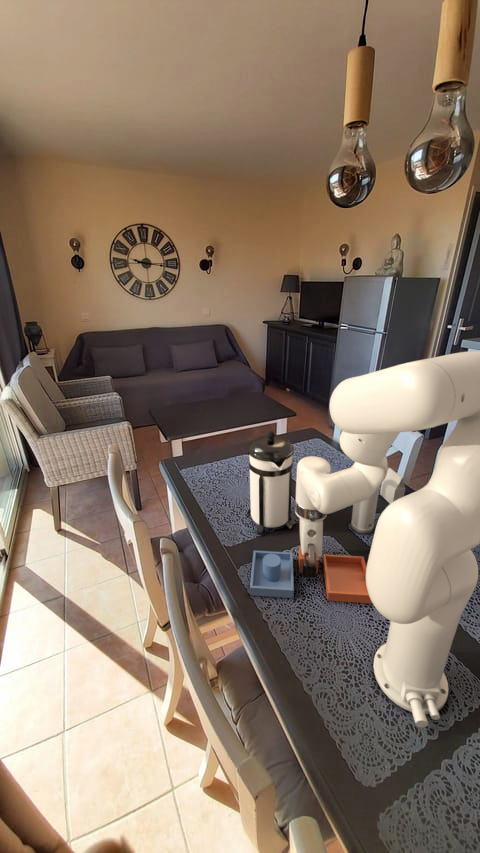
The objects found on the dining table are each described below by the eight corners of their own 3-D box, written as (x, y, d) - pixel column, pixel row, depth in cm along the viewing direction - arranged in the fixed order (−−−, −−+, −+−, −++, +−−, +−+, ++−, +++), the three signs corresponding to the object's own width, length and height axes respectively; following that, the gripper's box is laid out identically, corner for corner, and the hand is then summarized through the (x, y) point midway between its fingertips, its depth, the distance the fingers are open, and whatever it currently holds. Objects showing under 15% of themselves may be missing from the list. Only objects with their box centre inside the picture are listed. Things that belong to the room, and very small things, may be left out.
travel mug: (375, 535, 103) (384, 474, 95) (351, 532, 104) (358, 472, 96) (373, 521, 108) (381, 463, 101) (350, 519, 110) (356, 461, 102)
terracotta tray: (373, 603, 82) (374, 595, 81) (327, 600, 83) (328, 592, 82) (362, 563, 93) (363, 556, 92) (322, 561, 94) (323, 554, 93)
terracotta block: (317, 574, 90) (318, 560, 89) (299, 573, 91) (299, 559, 89) (316, 560, 95) (317, 547, 93) (298, 559, 95) (299, 546, 93)
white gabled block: (392, 505, 115) (396, 479, 111) (380, 494, 121) (383, 468, 117) (402, 504, 116) (407, 477, 112) (389, 492, 122) (393, 466, 118)
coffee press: (304, 514, 113) (309, 426, 101) (280, 543, 101) (282, 448, 89) (257, 497, 122) (256, 414, 110) (230, 522, 110) (225, 433, 98)
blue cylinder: (280, 582, 88) (280, 567, 86) (262, 581, 88) (262, 566, 86) (280, 568, 92) (281, 554, 90) (263, 567, 92) (263, 553, 90)
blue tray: (293, 598, 84) (293, 590, 83) (249, 595, 85) (249, 587, 84) (292, 559, 95) (292, 552, 94) (253, 557, 96) (253, 550, 95)
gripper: (331, 532, 77) (326, 591, 84) (323, 487, 93) (319, 540, 100) (296, 530, 78) (293, 589, 85) (294, 486, 94) (292, 539, 101)
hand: (307, 562), depth 92 cm, fingers open, 8 cm apart
